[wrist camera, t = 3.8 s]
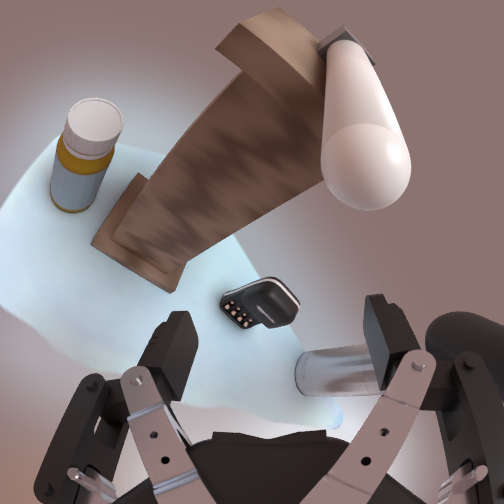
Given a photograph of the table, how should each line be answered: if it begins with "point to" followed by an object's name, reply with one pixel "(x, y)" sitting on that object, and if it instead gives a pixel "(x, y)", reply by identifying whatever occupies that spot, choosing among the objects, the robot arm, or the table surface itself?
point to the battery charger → (261, 304)
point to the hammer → (359, 129)
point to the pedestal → (228, 155)
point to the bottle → (84, 153)
